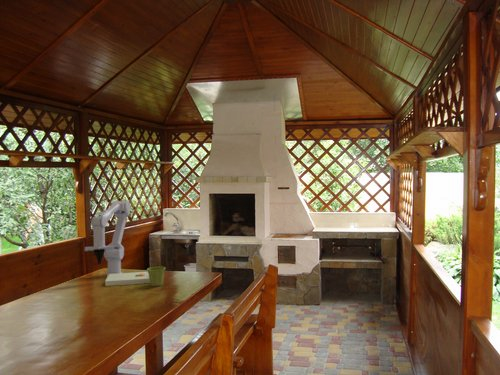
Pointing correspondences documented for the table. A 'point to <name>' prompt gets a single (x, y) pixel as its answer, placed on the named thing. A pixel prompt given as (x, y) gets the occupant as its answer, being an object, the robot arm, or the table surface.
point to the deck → (127, 278)
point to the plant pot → (156, 275)
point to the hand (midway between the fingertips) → (99, 263)
